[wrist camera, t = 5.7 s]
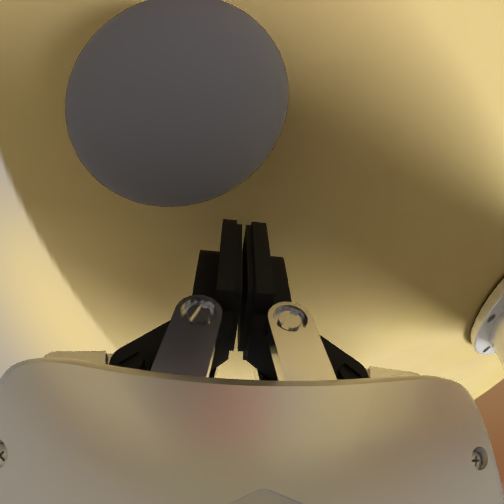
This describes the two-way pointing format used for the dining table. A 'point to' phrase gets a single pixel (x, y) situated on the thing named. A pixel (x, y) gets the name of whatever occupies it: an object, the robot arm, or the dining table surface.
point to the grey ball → (176, 101)
